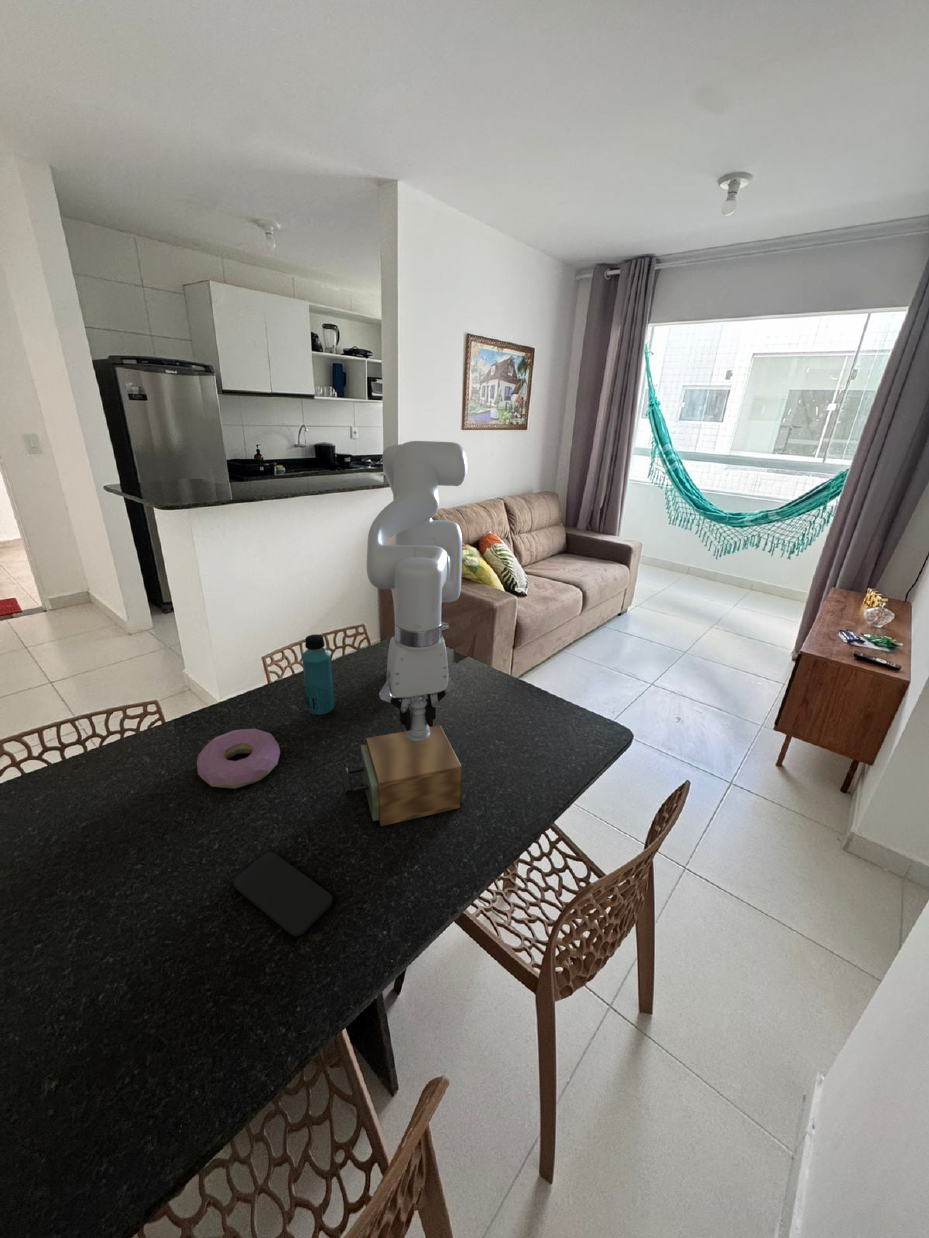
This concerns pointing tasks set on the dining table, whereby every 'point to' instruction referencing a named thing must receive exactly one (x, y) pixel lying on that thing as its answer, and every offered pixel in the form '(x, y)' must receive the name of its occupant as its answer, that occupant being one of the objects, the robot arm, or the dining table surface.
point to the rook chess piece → (418, 720)
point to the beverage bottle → (317, 676)
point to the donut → (243, 771)
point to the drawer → (368, 781)
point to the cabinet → (415, 775)
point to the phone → (283, 893)
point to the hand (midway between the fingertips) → (417, 723)
